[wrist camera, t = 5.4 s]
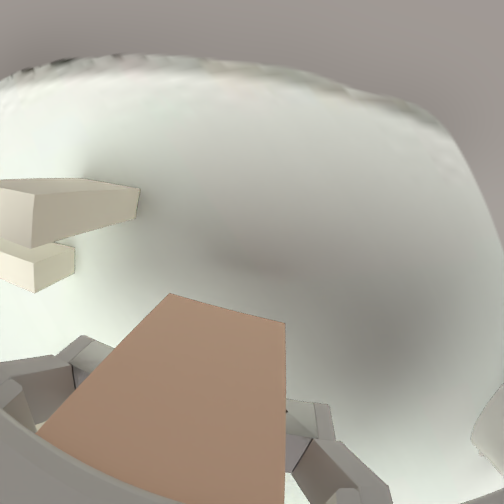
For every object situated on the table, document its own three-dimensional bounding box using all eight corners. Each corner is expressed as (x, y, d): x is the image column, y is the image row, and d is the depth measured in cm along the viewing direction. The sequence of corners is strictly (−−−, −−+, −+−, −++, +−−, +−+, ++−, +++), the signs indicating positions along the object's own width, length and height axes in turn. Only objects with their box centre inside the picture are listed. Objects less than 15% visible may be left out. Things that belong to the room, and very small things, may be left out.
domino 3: (169, 293, 12) (3, 470, 2) (285, 323, 12) (280, 576, 2) (164, 332, 13) (34, 510, 3) (272, 361, 12) (252, 589, 3)
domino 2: (76, 247, 19) (0, 226, 19) (33, 263, 14) (-39, 236, 14) (75, 273, 20) (0, 248, 20) (34, 293, 15) (-38, 260, 15)
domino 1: (81, 178, 18) (-29, 181, 8) (140, 188, 18) (34, 194, 8) (77, 205, 18) (-31, 224, 9) (135, 218, 18) (31, 248, 9)
